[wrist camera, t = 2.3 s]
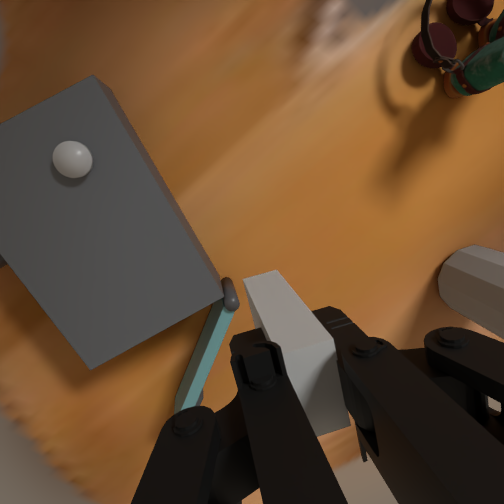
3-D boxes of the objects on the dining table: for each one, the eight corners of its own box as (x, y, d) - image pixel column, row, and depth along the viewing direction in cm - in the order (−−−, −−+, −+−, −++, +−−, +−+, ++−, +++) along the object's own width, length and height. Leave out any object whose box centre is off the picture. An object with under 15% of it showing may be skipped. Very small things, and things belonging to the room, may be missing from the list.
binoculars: (552, -148, 22) (654, -22, 24) (446, -42, 32) (522, 40, 34) (449, -18, 23) (554, 94, 24) (377, 44, 33) (455, 120, 35)
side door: (174, 394, 37) (171, 431, 32) (222, 275, 35) (227, 295, 30) (192, 399, 38) (192, 435, 33) (241, 282, 36) (249, 302, 31)
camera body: (-51, 174, 30) (-111, 179, 24) (110, 88, 30) (90, 72, 24) (84, 350, 35) (63, 390, 29) (219, 276, 35) (225, 301, 29)
